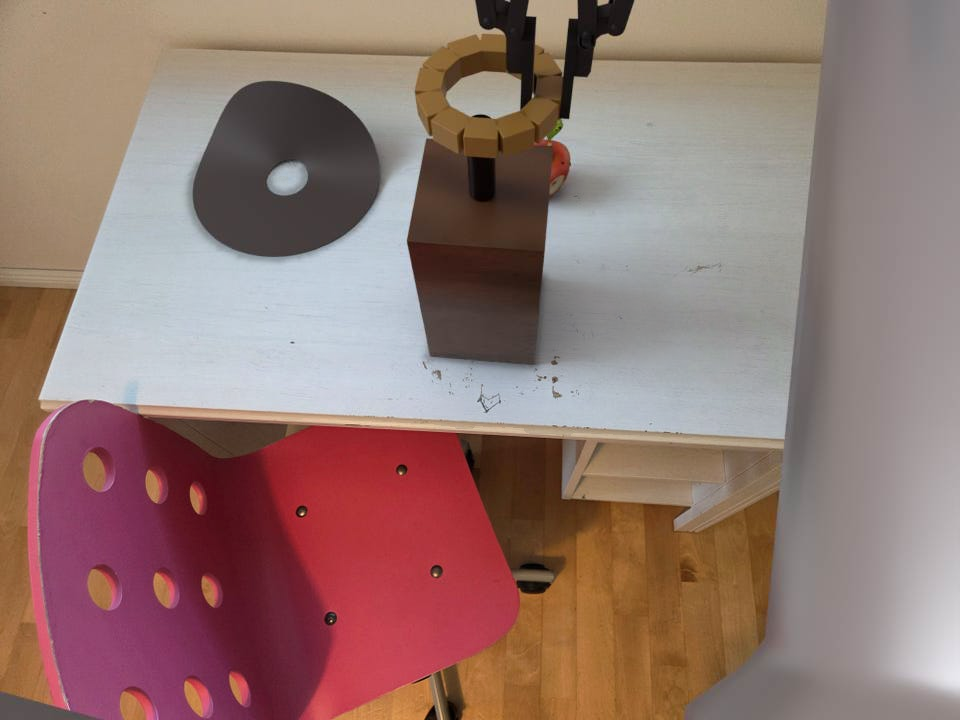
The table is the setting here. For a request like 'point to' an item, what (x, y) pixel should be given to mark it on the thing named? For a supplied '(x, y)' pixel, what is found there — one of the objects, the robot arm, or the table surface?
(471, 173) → the post
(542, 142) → the apple
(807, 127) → the table surface
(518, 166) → the stand
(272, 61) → the table surface
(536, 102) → the ring
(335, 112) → the dark holed disc
